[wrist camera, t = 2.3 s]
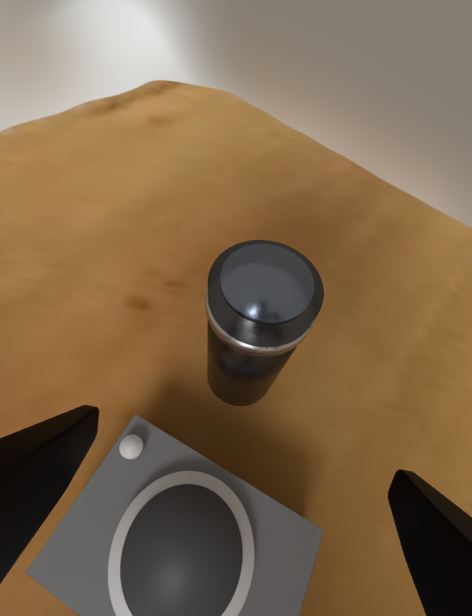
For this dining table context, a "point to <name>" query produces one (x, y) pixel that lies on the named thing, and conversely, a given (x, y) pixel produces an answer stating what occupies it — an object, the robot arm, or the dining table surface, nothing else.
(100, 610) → the grey rectangular block
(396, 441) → the dining table surface
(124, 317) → the dining table surface
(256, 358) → the dark grey cylinder
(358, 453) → the dining table surface
